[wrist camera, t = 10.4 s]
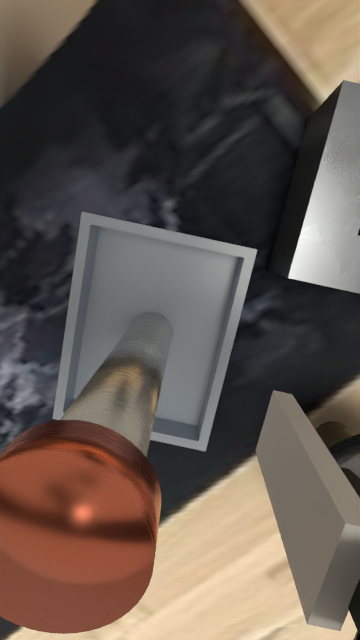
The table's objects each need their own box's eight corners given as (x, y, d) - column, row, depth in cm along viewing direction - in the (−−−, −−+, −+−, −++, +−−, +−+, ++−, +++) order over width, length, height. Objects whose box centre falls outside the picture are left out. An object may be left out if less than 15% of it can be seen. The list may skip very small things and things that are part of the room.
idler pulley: (291, 374, 24) (347, 448, 15) (404, 398, 24) (525, 486, 15) (261, 473, 25) (296, 591, 17) (367, 495, 25) (455, 624, 17)
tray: (94, 215, 22) (81, 211, 19) (250, 249, 22) (257, 249, 19) (66, 401, 25) (52, 418, 22) (204, 430, 25) (205, 451, 22)
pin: (127, 296, 22) (-46, 441, 6) (187, 310, 22) (173, 487, 6) (117, 354, 23) (-57, 611, 7) (175, 366, 23) (133, 650, 7)
